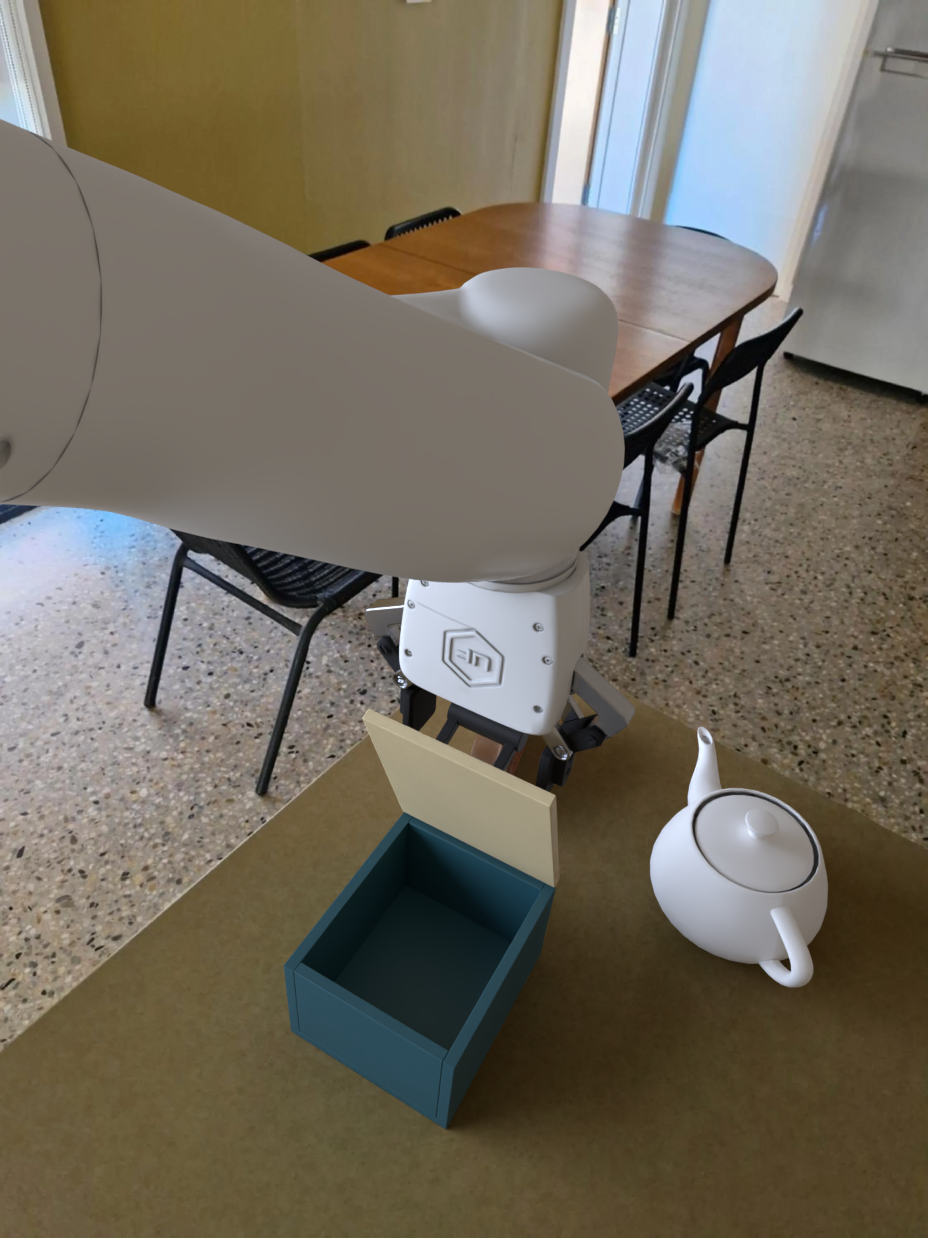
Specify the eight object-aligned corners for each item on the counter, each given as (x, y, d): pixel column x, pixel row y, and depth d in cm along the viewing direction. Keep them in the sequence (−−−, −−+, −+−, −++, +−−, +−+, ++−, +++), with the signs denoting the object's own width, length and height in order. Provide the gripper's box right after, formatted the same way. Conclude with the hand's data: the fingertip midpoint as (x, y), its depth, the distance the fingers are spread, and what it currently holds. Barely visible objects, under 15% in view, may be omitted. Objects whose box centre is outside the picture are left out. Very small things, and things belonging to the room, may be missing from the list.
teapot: (863, 1015, 66) (920, 936, 59) (689, 1036, 64) (727, 956, 57) (748, 785, 83) (782, 703, 76) (607, 795, 81) (629, 712, 74)
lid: (550, 807, 49) (587, 733, 51) (361, 718, 54) (403, 653, 56) (554, 888, 62) (584, 826, 64) (402, 811, 66) (435, 755, 69)
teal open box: (446, 1130, 58) (454, 1069, 52) (290, 1031, 62) (283, 965, 57) (541, 953, 68) (556, 887, 63) (401, 879, 72) (404, 810, 67)
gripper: (327, 506, 46) (335, 735, 57) (642, 626, 40) (583, 856, 51) (404, 449, 51) (398, 668, 62) (693, 547, 45) (630, 771, 56)
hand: (482, 752), depth 56 cm, fingers open, 9 cm apart
